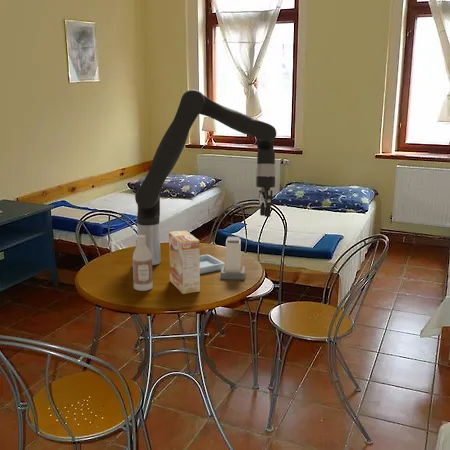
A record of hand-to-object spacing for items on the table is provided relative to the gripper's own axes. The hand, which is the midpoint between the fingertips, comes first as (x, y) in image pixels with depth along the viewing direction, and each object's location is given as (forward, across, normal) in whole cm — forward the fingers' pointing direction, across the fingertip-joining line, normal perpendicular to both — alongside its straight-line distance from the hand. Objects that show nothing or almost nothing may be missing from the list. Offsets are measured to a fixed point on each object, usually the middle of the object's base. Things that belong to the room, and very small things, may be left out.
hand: (265, 216), depth 219 cm
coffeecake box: (+26, +12, -33) cm, 44 cm away
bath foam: (+26, +12, -48) cm, 56 cm away
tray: (+22, -8, -25) cm, 34 cm away
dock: (+23, +3, -13) cm, 27 cm away
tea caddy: (+23, +3, -13) cm, 27 cm away
